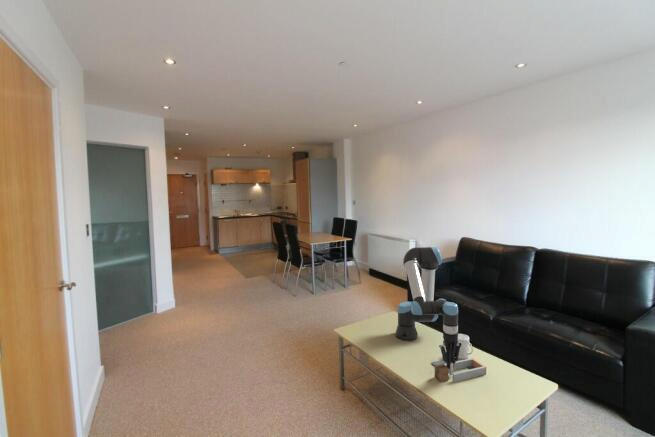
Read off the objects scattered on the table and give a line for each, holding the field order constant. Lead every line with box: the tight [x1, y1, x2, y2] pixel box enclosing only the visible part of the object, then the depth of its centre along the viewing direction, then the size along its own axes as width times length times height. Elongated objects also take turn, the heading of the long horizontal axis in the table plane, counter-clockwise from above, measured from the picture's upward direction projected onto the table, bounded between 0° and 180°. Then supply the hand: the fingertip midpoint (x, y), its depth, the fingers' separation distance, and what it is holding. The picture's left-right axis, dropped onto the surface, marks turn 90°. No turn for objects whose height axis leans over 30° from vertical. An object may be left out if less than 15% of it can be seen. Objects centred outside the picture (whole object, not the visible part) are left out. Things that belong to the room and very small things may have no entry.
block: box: [434, 363, 449, 383], centre depth 170 cm, size 5×5×7 cm
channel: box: [444, 357, 487, 383], centre depth 175 cm, size 10×21×4 cm, turn 108°
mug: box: [458, 333, 474, 360], centre depth 192 cm, size 12×8×12 cm
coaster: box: [430, 359, 447, 367], centre depth 183 cm, size 8×8×1 cm
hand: (450, 373), depth 172 cm, fingers closed
